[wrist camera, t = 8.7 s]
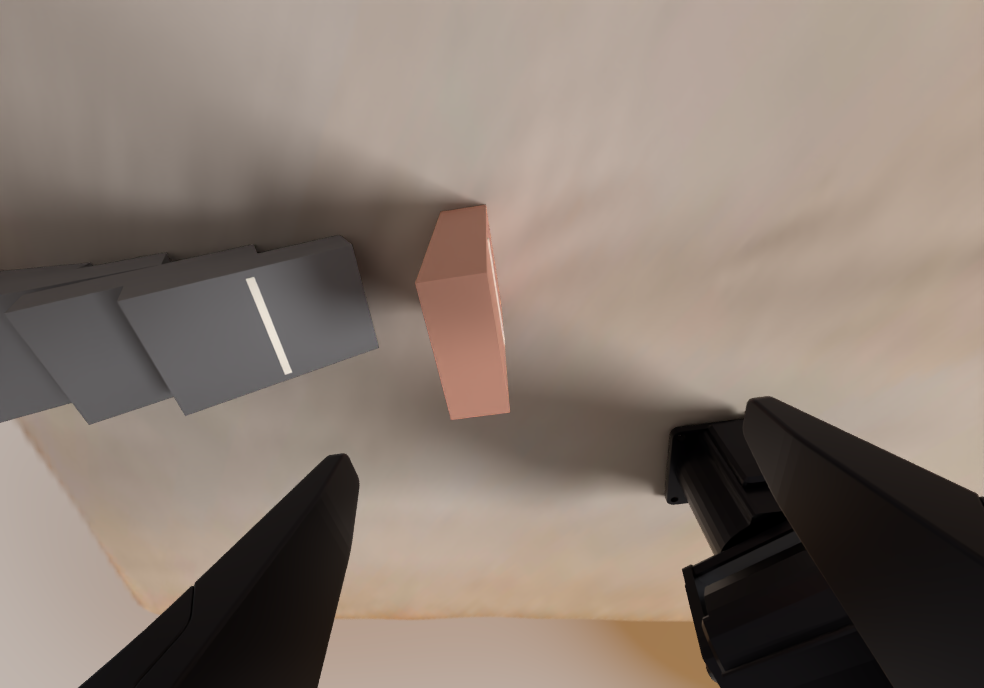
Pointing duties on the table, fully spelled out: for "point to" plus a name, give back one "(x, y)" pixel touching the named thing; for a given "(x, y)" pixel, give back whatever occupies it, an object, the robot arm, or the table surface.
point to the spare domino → (465, 314)
